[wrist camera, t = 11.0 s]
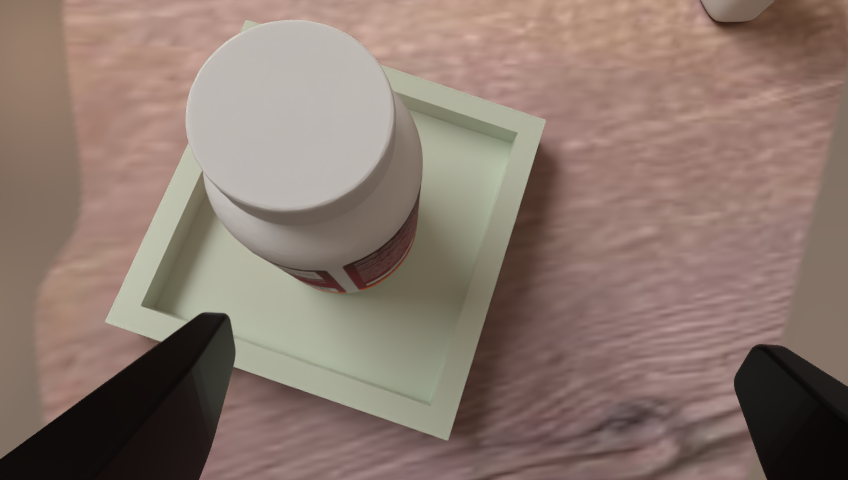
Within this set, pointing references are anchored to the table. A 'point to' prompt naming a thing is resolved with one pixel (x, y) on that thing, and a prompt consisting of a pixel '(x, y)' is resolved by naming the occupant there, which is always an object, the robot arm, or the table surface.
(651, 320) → the table surface
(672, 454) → the table surface
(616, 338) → the table surface
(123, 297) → the tray
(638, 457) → the table surface
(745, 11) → the eye dropper bottle
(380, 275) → the pill bottle
